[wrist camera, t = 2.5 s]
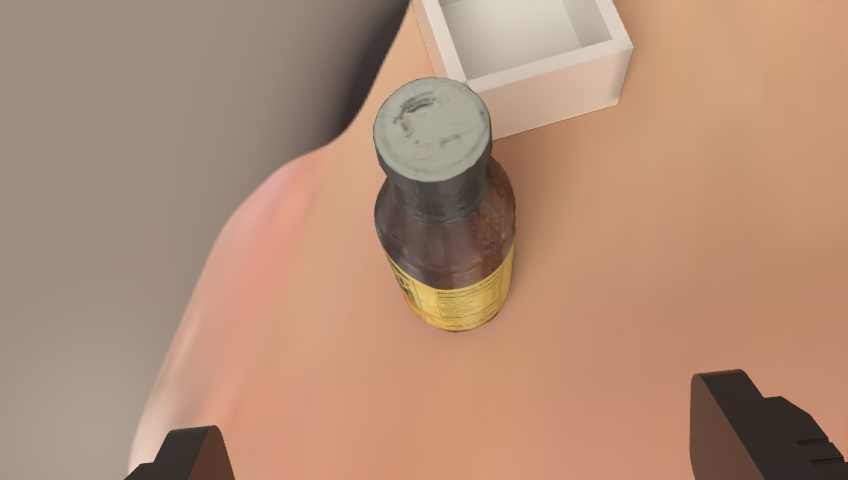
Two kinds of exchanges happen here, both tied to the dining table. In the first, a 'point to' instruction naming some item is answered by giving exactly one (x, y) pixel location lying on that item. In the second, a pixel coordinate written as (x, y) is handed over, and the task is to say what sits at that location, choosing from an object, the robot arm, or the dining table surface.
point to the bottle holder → (529, 56)
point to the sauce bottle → (444, 204)
